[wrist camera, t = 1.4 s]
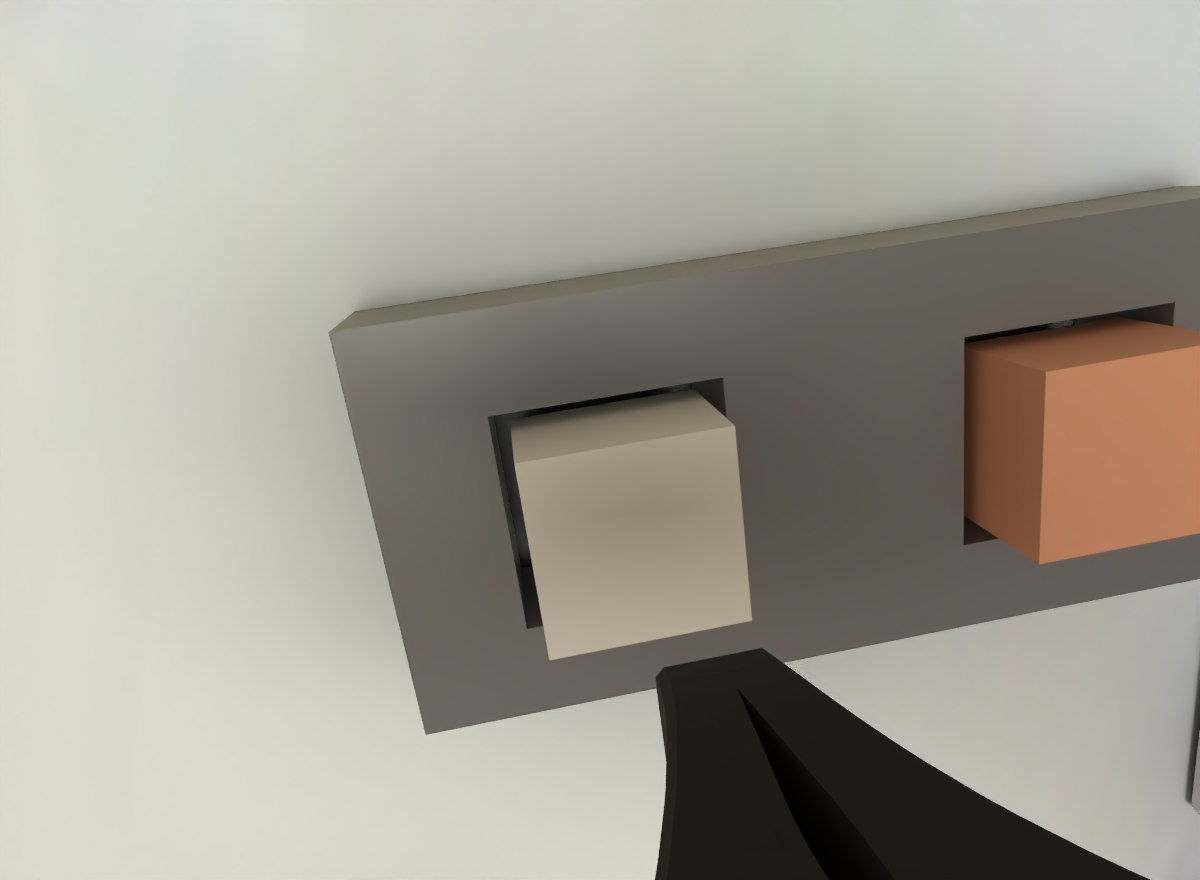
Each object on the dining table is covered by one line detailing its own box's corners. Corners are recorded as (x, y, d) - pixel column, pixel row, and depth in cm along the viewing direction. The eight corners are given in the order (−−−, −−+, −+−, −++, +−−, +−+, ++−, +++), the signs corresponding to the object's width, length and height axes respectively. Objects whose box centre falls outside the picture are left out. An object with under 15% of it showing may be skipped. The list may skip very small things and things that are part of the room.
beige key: (693, 389, 17) (735, 425, 14) (710, 556, 18) (751, 620, 15) (509, 419, 17) (514, 463, 14) (539, 587, 18) (549, 660, 15)
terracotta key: (1120, 317, 18) (1240, 338, 15) (1110, 480, 19) (1220, 529, 16) (955, 345, 18) (1046, 371, 15) (955, 510, 19) (1039, 564, 16)
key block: (1177, 186, 19) (1297, 183, 16) (1150, 521, 22) (1249, 568, 19) (355, 311, 18) (328, 332, 15) (434, 660, 20) (425, 734, 17)
